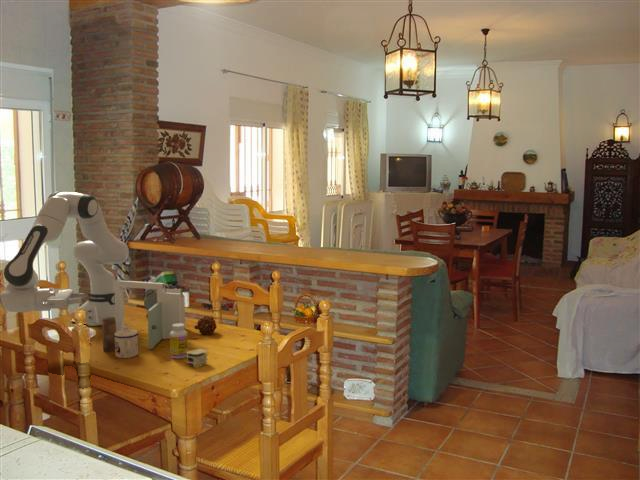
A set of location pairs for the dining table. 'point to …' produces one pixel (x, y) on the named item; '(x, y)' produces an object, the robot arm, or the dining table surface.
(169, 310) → the door frame
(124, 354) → the teacup with lid
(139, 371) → the dining table surface
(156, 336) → the door
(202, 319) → the pine cone
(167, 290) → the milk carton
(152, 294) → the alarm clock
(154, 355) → the dining table surface
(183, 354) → the supplement bottle
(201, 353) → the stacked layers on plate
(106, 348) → the post
